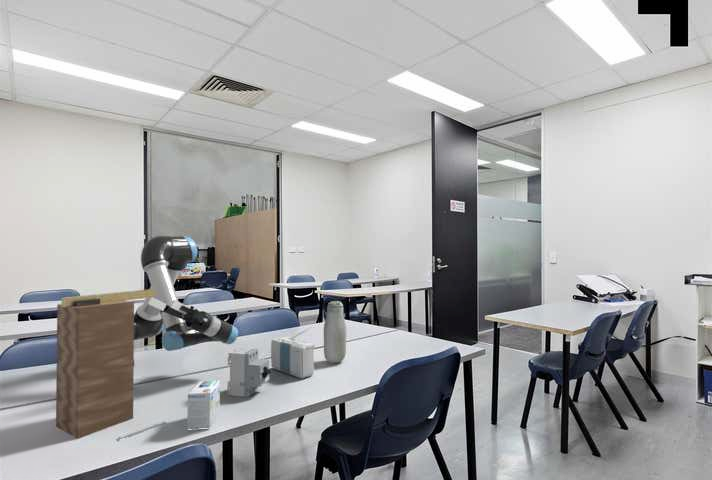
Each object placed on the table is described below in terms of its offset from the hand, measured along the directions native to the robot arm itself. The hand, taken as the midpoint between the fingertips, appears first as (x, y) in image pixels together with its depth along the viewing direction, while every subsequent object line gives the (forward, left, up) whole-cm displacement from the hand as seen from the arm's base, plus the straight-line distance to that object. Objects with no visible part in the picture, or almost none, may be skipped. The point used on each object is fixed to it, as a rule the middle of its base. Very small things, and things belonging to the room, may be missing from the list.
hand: (160, 301), depth 134 cm
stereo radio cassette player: (+20, +46, -34) cm, 61 cm away
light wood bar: (0, -16, +2) cm, 16 cm away
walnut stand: (0, -20, -34) cm, 40 cm away
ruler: (+18, -16, -35) cm, 42 cm away
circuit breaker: (+22, +21, -34) cm, 46 cm away
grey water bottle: (+27, +67, -34) cm, 80 cm away
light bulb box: (+28, -3, -34) cm, 44 cm away
